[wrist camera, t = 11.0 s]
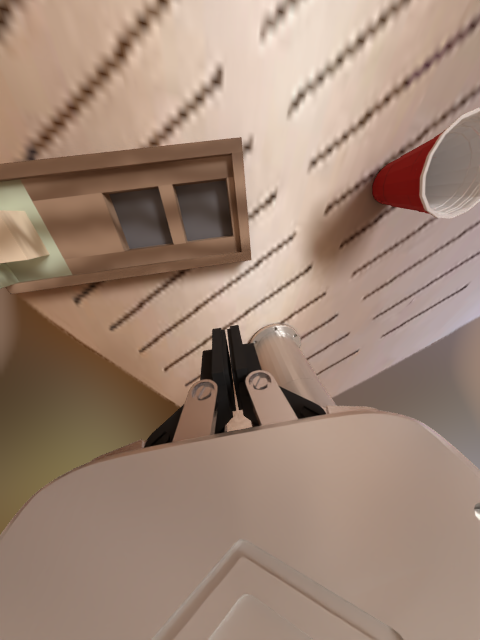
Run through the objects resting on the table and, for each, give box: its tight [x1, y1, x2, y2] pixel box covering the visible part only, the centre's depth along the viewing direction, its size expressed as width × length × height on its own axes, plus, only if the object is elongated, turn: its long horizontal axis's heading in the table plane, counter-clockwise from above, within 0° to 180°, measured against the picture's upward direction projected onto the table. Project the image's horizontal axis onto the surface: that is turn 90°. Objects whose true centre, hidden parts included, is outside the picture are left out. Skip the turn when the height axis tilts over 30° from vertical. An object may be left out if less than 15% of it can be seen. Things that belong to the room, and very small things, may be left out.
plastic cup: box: [372, 107, 480, 218], centre depth 28 cm, size 11×11×12 cm
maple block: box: [0, 210, 50, 263], centre depth 27 cm, size 6×6×4 cm
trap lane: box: [0, 137, 251, 294], centre depth 29 cm, size 16×40×6 cm, turn 96°
